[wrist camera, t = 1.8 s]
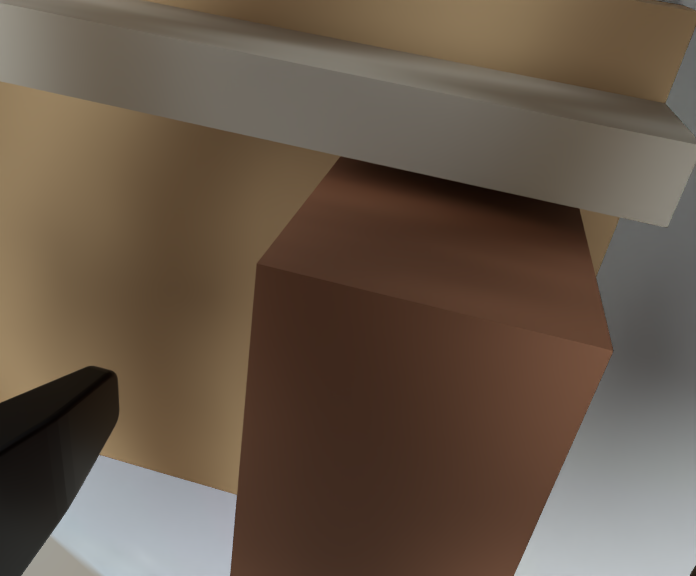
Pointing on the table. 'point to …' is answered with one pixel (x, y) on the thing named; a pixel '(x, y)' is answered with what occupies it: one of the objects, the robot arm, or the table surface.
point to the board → (284, 166)
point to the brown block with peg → (412, 377)
